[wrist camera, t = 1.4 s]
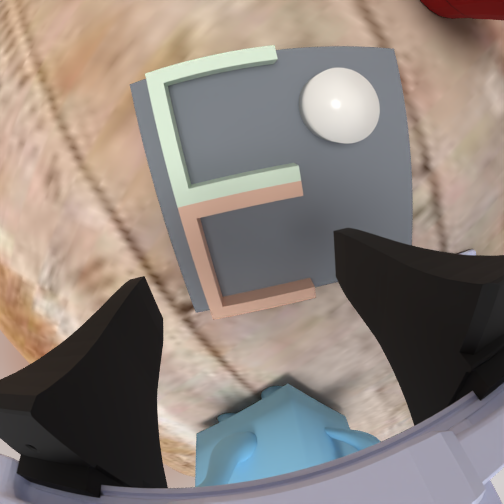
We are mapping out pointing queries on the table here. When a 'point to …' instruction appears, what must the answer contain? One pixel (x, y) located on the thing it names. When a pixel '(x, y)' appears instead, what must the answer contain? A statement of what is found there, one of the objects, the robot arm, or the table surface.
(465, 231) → the table surface
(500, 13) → the plastic cup
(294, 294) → the pink u-shaped rail
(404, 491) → the robot arm
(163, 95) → the mint green c bracket
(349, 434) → the teakettle
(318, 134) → the white dome
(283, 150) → the mat
